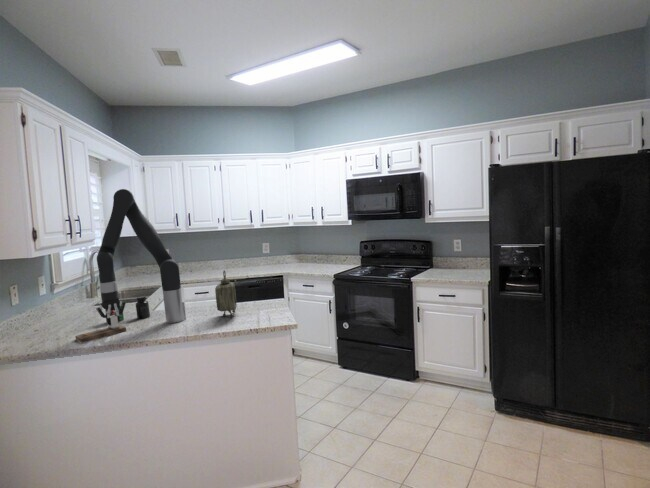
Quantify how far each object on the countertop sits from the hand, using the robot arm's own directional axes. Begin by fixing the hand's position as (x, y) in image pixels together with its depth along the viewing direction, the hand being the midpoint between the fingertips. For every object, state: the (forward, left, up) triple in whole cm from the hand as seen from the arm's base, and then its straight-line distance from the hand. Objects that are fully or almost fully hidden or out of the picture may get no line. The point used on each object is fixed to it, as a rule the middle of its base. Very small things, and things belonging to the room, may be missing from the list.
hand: (113, 323), depth 195 cm
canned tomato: (-9, -23, -4) cm, 25 cm away
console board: (+6, 0, -4) cm, 7 cm away
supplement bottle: (-21, -15, -4) cm, 26 cm away
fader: (0, 0, -2) cm, 2 cm away
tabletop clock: (-47, +31, -4) cm, 56 cm away
